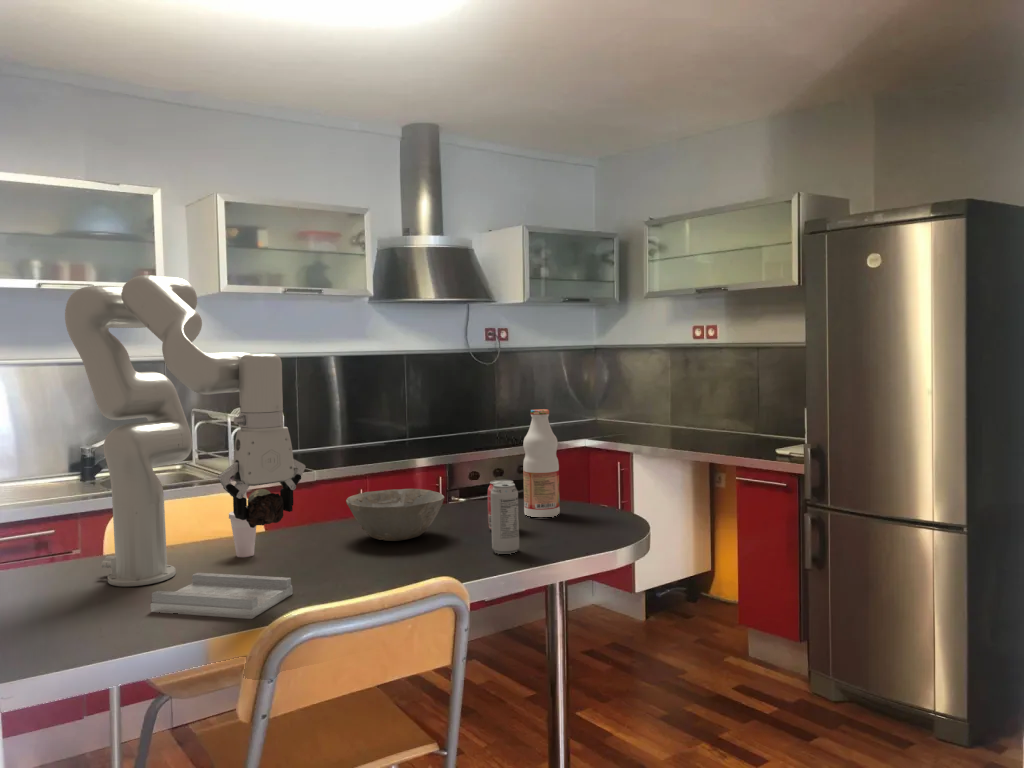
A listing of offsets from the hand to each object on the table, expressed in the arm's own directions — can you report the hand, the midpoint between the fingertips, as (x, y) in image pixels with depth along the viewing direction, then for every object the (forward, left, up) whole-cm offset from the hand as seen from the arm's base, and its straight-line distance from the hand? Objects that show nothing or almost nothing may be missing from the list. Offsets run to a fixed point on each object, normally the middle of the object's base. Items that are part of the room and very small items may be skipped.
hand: (264, 514), depth 152 cm
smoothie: (-22, +27, -16) cm, 38 cm away
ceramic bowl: (+6, +47, -16) cm, 50 cm away
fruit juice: (+35, +77, -16) cm, 86 cm away
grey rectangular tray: (-7, -4, -16) cm, 17 cm away
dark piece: (-2, +3, -2) cm, 4 cm away
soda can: (+29, +59, -16) cm, 68 cm away
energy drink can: (+35, +39, -16) cm, 55 cm away
